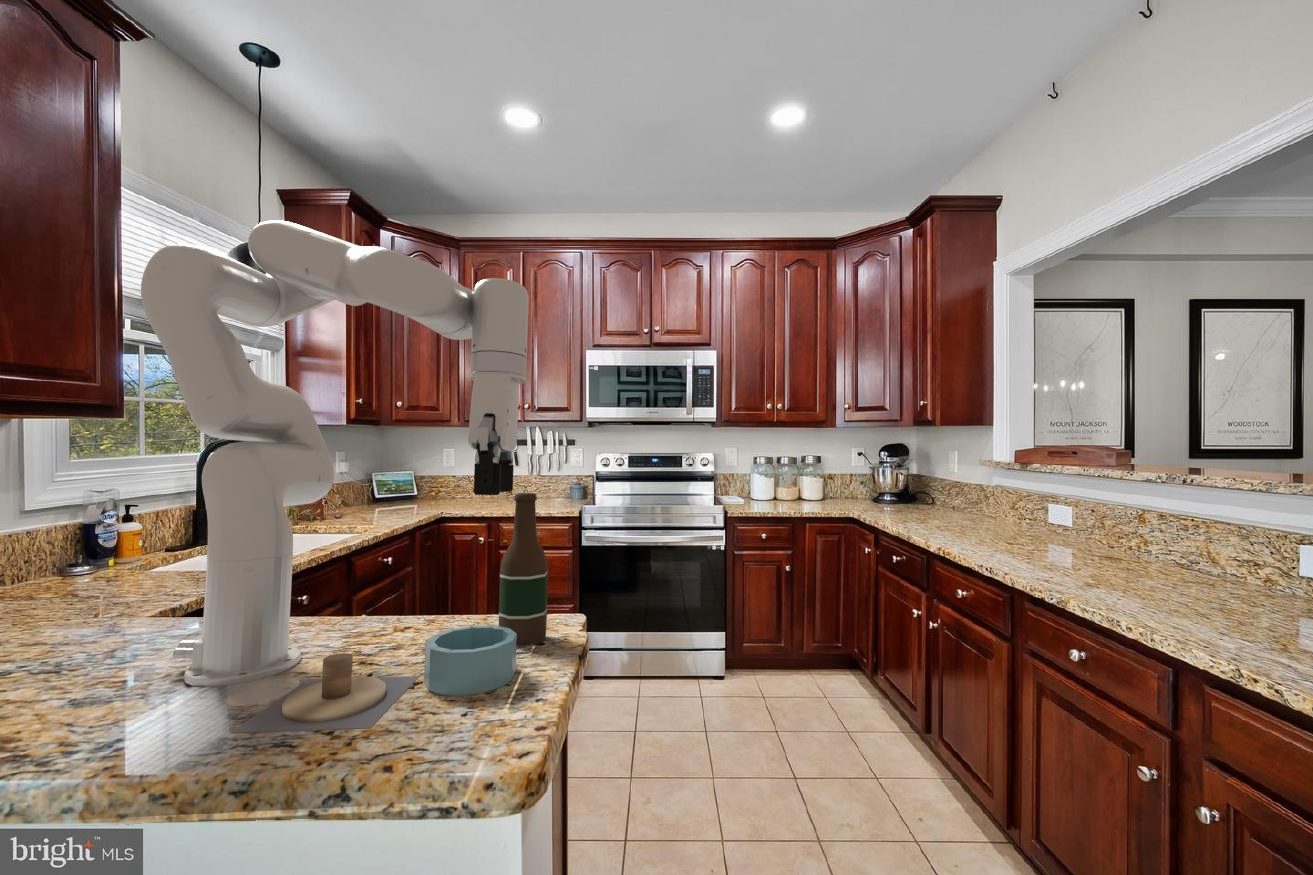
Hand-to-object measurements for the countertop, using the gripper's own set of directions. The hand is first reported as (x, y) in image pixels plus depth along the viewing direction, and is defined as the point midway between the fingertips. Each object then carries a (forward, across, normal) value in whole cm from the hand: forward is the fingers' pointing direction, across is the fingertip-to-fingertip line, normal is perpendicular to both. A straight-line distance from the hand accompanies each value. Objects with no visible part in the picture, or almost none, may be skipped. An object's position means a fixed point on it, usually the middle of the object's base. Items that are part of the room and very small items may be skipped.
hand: (494, 493), depth 72 cm
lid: (+24, +7, -16) cm, 30 cm away
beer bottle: (+25, -15, +2) cm, 29 cm away
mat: (+25, +7, -16) cm, 30 cm away
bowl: (+25, +1, -2) cm, 25 cm away
